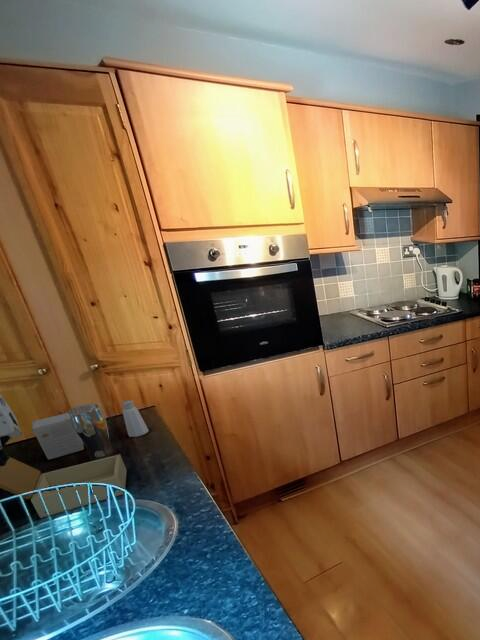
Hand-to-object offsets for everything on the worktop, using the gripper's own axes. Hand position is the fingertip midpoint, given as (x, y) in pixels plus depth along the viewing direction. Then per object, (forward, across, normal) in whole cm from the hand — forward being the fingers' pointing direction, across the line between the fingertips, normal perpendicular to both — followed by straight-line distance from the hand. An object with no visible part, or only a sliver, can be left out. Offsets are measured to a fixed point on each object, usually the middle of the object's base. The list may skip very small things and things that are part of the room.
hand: (1, 463), depth 103 cm
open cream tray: (+13, -11, 0) cm, 17 cm away
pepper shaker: (+13, -21, -30) cm, 39 cm away
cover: (0, +1, 0) cm, 1 cm away
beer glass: (+13, -13, -20) cm, 27 cm away
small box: (+13, -4, -29) cm, 32 cm away
